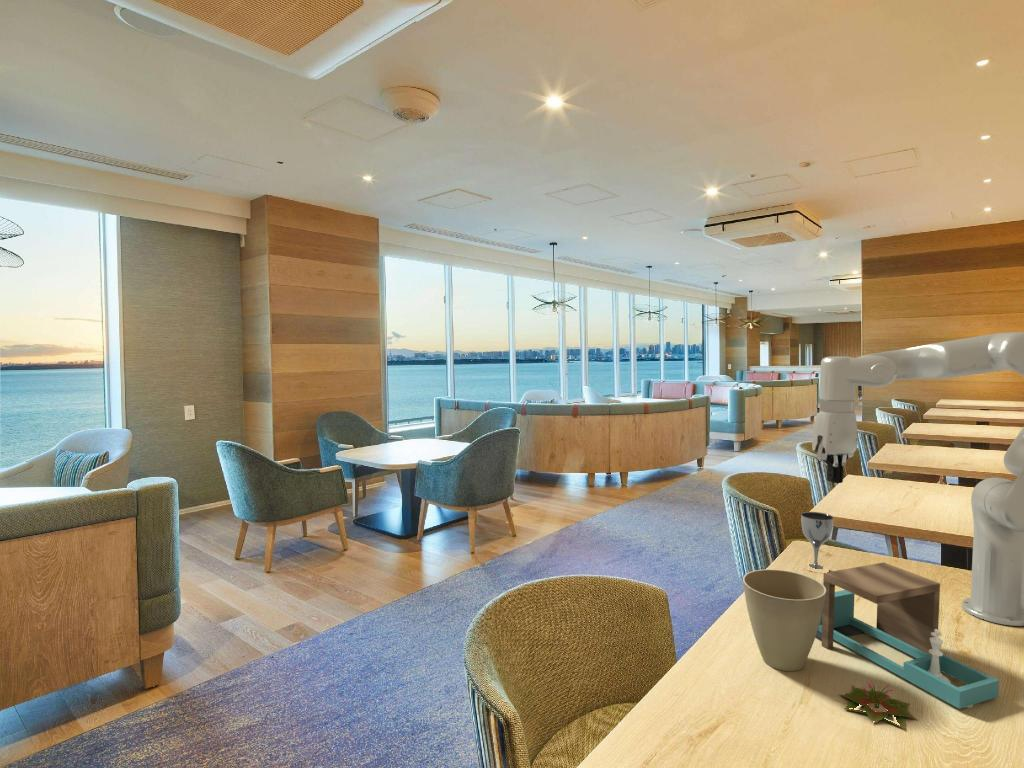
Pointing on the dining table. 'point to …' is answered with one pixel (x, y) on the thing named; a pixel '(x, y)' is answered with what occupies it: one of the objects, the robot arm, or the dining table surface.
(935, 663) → the chess piece
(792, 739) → the dining table surface
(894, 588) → the tunnel
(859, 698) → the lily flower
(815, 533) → the wine glass
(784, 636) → the plant pot
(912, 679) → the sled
